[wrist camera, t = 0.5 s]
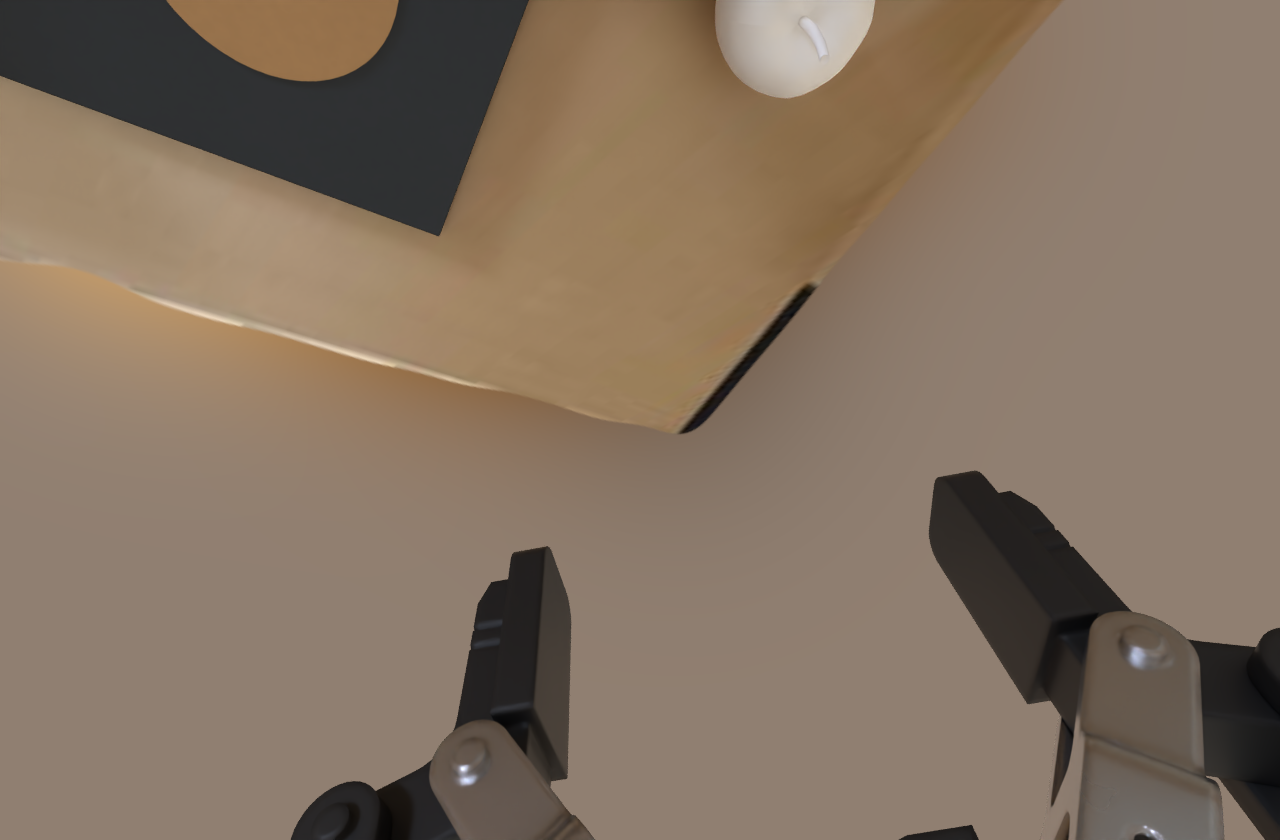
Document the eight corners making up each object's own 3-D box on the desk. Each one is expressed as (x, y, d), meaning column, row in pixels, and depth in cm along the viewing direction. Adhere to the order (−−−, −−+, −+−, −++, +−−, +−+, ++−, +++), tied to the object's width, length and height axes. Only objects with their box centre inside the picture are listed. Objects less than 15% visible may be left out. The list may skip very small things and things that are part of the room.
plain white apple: (691, 68, 33) (731, 135, 27) (704, -110, 27) (756, -69, 22) (820, 62, 33) (883, 126, 28) (856, -111, 28) (942, -72, 23)
